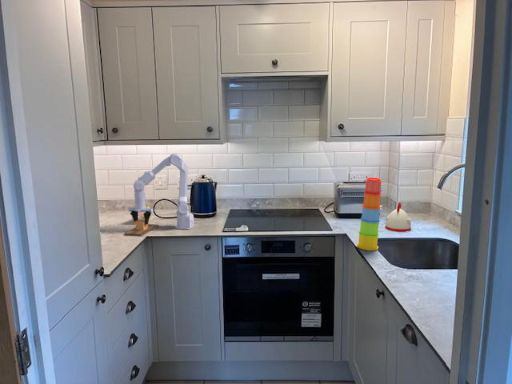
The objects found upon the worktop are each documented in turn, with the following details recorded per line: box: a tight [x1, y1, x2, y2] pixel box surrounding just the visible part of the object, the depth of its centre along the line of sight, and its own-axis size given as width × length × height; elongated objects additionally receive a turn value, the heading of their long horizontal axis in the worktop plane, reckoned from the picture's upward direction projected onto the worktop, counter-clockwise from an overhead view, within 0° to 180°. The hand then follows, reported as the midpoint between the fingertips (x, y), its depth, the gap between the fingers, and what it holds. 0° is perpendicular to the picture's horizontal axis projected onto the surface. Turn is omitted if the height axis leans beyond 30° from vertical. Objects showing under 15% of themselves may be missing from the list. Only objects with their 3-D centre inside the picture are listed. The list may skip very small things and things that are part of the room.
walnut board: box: [124, 223, 159, 237], centre depth 218 cm, size 10×20×1 cm, turn 167°
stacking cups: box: [356, 177, 382, 252], centre depth 182 cm, size 10×10×35 cm
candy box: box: [131, 206, 151, 226], centre depth 238 cm, size 16×2×8 cm, turn 161°
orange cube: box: [134, 219, 149, 230], centre depth 217 cm, size 5×5×5 cm
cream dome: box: [384, 202, 412, 233], centre depth 216 cm, size 14×14×15 cm
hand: (141, 223), depth 217 cm, fingers open, 6 cm apart
